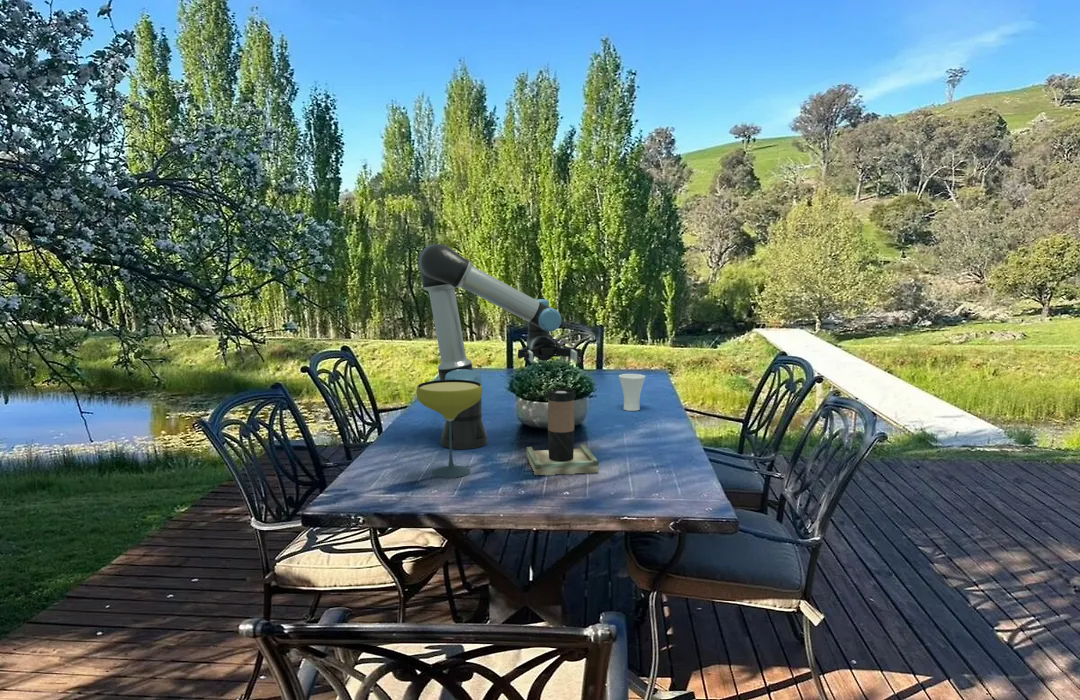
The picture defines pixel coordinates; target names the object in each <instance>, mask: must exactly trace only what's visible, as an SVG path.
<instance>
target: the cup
mask: <svg viewBox="0 0 1080 700" xmlns="http://www.w3.org/2000/svg"><path fill="white" fill-rule="evenodd" d="M618 378H619V382H620V385H621V389H622V393H623V408H622V409H623V410H624V411H629V412H635V411H639V410H641V408H640V407H641V406H640V405H641V404H640V398H641V392H642V389H643V386H644V382H645V380H646V375H644V374H640V373H622V374H619V375H618Z"/></svg>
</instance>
